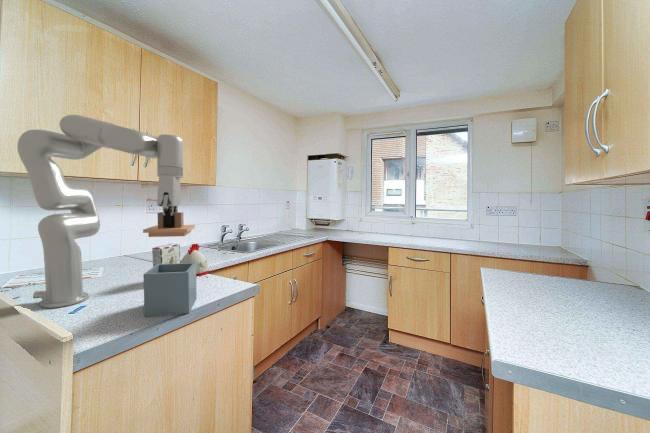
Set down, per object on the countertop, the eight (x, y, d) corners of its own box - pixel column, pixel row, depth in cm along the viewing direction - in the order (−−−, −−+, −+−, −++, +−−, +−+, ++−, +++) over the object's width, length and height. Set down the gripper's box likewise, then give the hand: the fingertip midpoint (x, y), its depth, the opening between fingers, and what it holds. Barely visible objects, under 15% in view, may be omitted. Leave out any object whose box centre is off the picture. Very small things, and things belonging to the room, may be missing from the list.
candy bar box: (171, 277, 127) (171, 243, 126) (181, 278, 126) (180, 243, 125) (152, 284, 116) (151, 247, 115) (162, 285, 115) (161, 248, 114)
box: (144, 317, 86) (143, 274, 85) (157, 301, 98) (157, 264, 97) (189, 313, 89) (188, 272, 88) (196, 298, 102) (196, 262, 101)
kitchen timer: (214, 270, 140) (214, 242, 139) (198, 278, 127) (198, 247, 125) (189, 269, 142) (189, 241, 141) (171, 276, 128) (171, 245, 127)
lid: (143, 237, 84) (142, 213, 84) (156, 232, 96) (156, 211, 96) (187, 236, 88) (186, 213, 87) (194, 231, 100) (194, 211, 99)
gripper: (165, 174, 97) (165, 224, 99) (148, 170, 81) (149, 229, 83) (188, 175, 99) (188, 224, 101) (176, 171, 83) (176, 229, 85)
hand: (170, 226), depth 92 cm, fingers closed on lid, 3 cm apart
